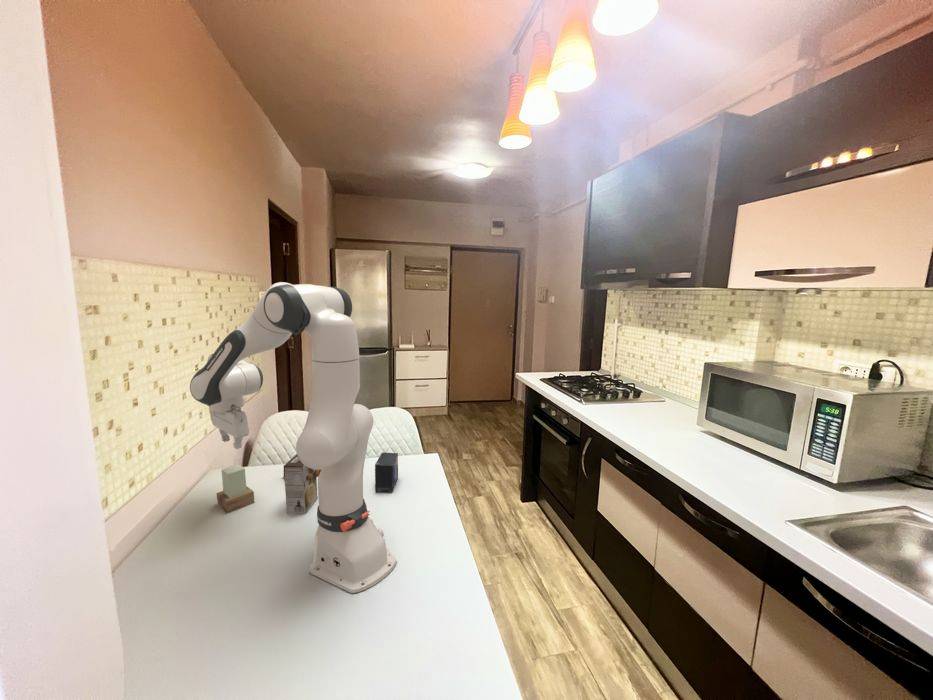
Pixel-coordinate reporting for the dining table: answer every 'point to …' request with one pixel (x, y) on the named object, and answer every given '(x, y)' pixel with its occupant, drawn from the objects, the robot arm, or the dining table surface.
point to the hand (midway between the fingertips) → (231, 444)
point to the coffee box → (299, 486)
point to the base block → (235, 500)
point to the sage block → (234, 480)
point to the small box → (386, 472)
